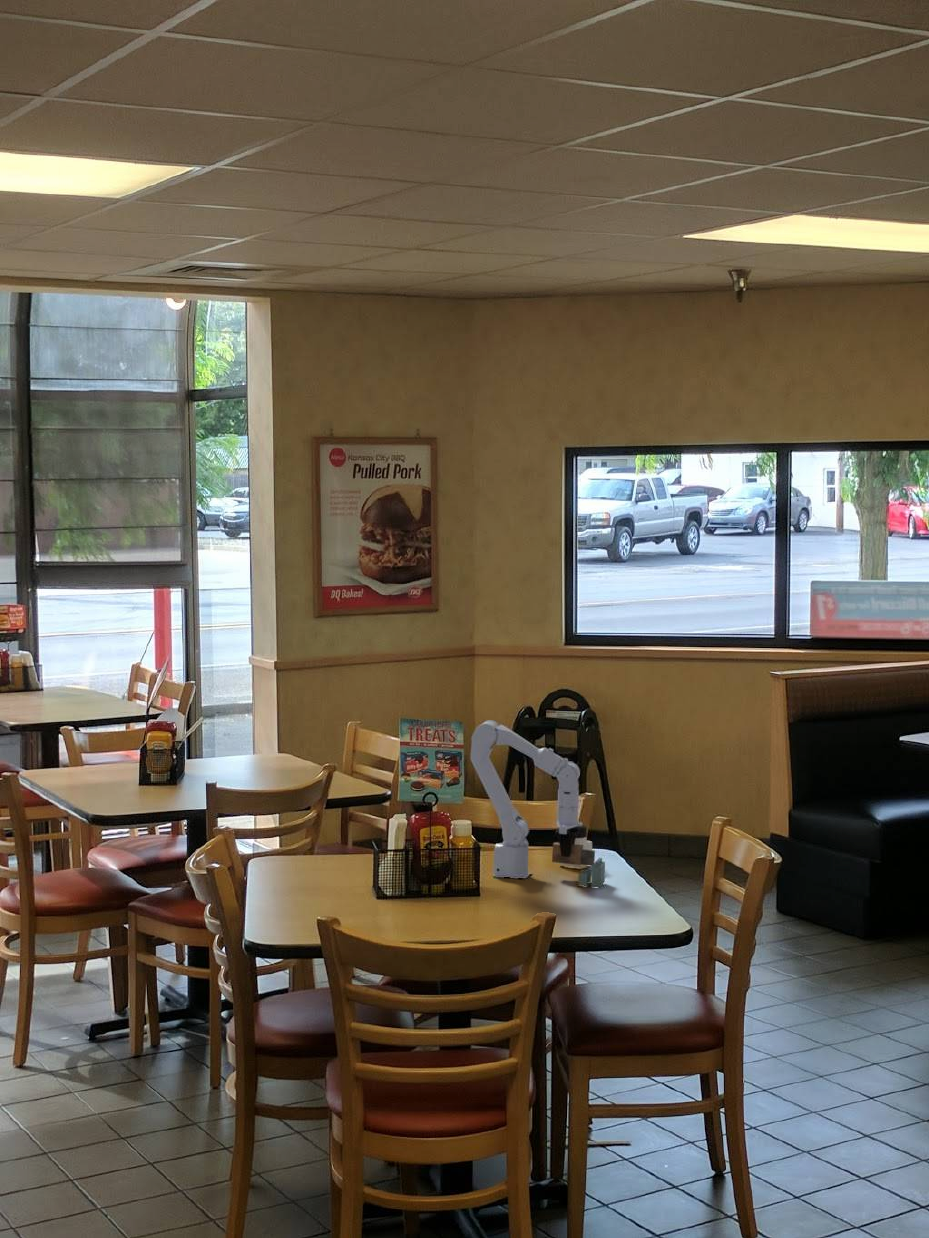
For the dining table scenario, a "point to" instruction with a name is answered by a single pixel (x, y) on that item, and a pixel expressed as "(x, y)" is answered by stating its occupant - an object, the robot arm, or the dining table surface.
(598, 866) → the grey boxy pieces
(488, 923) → the dining table surface
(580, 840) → the medicine bottle
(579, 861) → the rail
